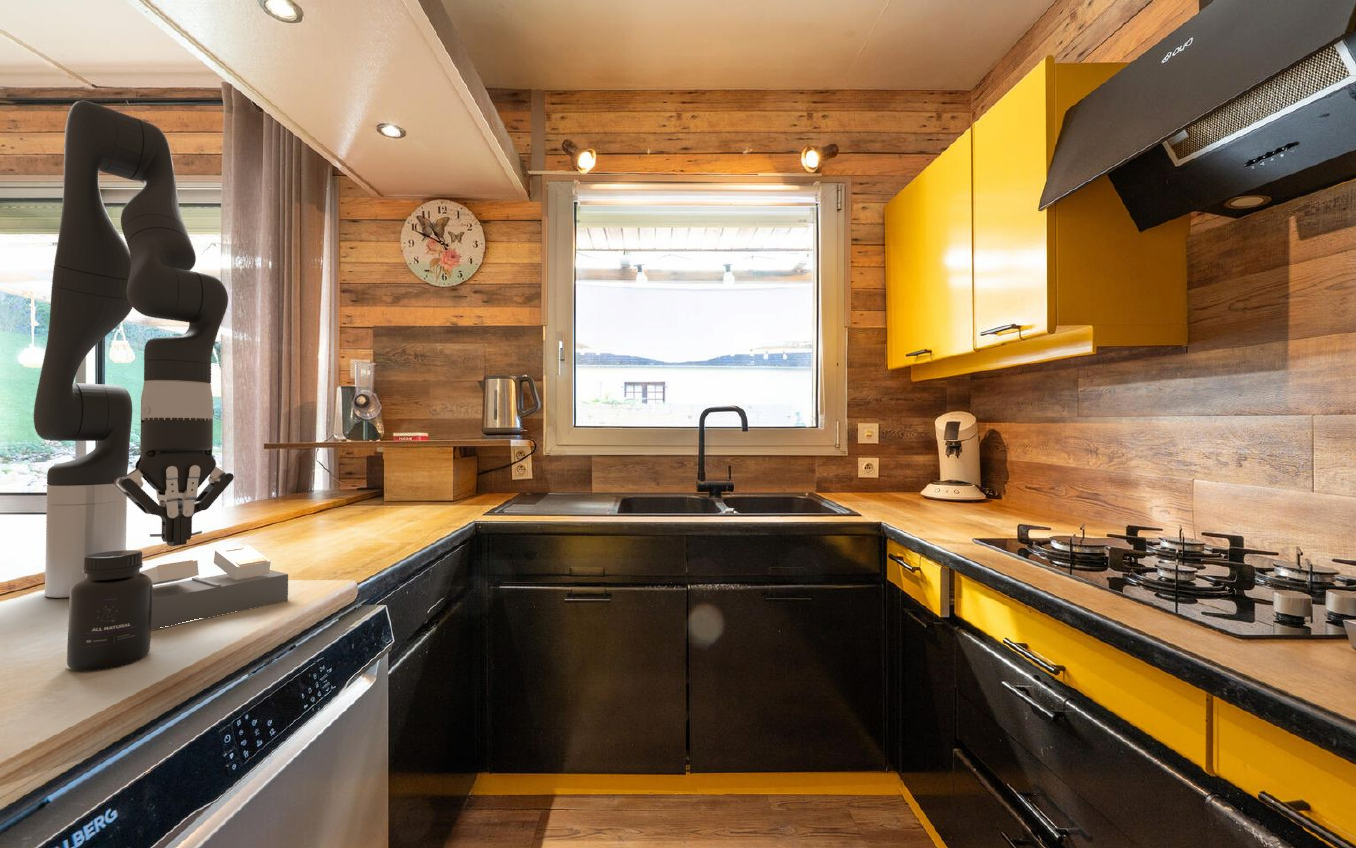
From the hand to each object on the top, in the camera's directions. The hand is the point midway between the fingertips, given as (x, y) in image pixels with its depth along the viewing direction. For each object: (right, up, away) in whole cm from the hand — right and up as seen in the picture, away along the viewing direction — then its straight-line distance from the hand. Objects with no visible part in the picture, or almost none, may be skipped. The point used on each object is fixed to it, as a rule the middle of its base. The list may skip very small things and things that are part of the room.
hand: (176, 544), depth 81 cm
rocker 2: (+2, -4, +9) cm, 10 cm away
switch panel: (0, -11, +5) cm, 12 cm away
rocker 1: (-2, -4, +1) cm, 5 cm away
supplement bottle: (+4, -11, -14) cm, 18 cm away
